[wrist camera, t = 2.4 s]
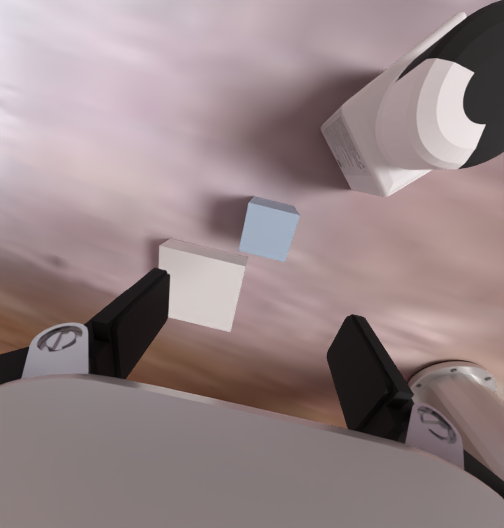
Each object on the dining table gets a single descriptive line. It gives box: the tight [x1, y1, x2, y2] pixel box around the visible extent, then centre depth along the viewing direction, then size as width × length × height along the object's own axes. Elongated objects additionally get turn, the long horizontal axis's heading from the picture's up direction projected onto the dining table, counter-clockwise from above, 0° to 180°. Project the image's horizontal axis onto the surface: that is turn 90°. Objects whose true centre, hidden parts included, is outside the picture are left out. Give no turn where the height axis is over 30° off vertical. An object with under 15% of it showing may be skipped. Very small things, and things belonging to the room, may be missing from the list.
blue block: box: [239, 196, 300, 262], centre depth 23 cm, size 5×5×6 cm
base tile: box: [159, 238, 248, 332], centre depth 29 cm, size 11×11×3 cm
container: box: [321, 0, 504, 197], centre depth 15 cm, size 8×8×13 cm
